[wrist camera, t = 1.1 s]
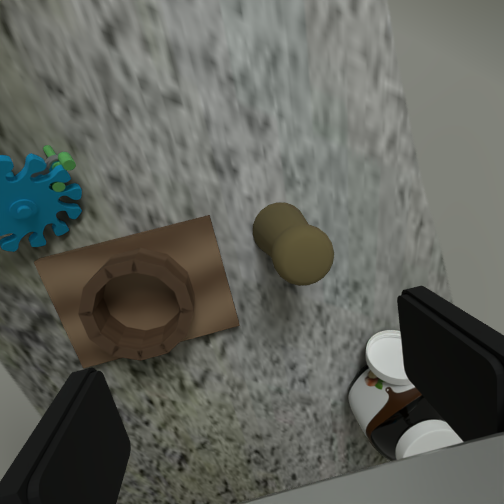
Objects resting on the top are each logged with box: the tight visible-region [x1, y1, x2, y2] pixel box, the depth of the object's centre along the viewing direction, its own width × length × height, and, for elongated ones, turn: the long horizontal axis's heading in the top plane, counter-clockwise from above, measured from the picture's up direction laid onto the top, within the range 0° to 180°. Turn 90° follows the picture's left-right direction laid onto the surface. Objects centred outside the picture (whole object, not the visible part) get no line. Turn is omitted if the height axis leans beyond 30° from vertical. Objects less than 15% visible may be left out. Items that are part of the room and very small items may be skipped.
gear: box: [0, 145, 82, 252], centre depth 31 cm, size 11×6×10 cm
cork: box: [253, 203, 334, 286], centre depth 32 cm, size 6×6×11 cm
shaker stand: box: [34, 215, 240, 368], centre depth 35 cm, size 13×18×5 cm
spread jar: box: [348, 330, 463, 461], centre depth 40 cm, size 12×11×12 cm
